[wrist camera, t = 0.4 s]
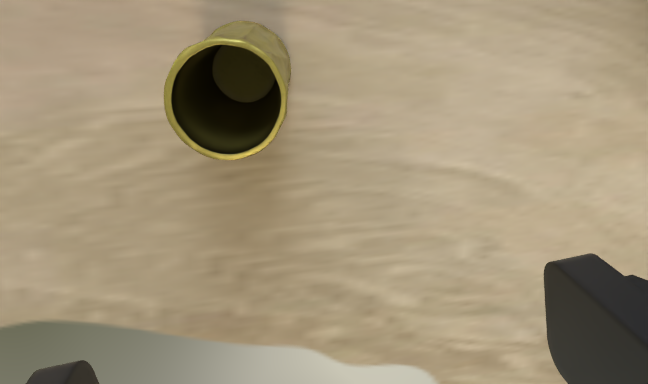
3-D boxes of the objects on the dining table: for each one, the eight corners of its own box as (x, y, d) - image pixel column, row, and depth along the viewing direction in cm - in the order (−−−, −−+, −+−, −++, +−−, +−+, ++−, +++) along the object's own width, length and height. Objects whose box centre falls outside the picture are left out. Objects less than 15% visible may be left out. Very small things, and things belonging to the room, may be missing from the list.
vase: (296, 29, 35) (308, 38, 22) (284, 119, 37) (288, 179, 24) (203, 14, 34) (156, 13, 21) (195, 107, 36) (147, 161, 23)
